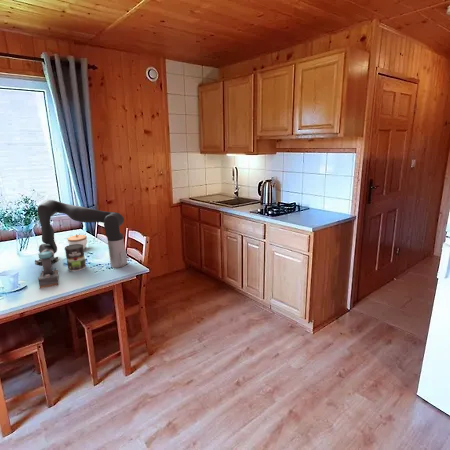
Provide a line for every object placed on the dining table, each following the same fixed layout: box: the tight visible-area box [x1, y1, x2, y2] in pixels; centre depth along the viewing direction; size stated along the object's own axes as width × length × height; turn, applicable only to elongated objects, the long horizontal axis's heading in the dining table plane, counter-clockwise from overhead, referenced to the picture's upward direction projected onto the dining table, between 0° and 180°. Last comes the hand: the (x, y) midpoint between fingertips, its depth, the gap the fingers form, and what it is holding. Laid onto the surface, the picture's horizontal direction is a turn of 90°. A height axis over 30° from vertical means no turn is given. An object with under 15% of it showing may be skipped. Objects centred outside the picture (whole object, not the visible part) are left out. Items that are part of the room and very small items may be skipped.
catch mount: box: [38, 268, 59, 289], centre depth 182 cm, size 20×9×6 cm, turn 27°
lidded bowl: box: [67, 234, 88, 249], centre depth 231 cm, size 13×13×11 cm
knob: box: [38, 251, 54, 277], centre depth 182 cm, size 7×7×14 cm
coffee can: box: [64, 244, 87, 272], centre depth 197 cm, size 10×10×14 cm
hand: (46, 265), depth 184 cm, fingers closed
